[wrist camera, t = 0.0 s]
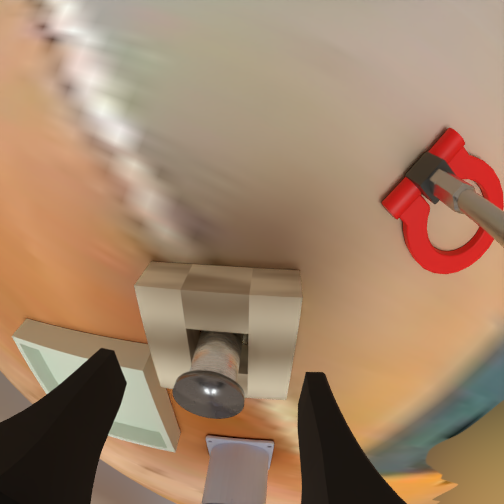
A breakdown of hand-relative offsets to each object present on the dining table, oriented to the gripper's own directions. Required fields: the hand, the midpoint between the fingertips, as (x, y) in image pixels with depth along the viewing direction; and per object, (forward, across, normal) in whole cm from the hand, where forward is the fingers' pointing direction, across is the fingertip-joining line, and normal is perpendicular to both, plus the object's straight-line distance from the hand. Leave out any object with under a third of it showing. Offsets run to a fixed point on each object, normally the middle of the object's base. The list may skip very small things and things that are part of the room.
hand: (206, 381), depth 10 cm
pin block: (+10, +1, +6) cm, 12 cm away
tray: (+10, +15, +17) cm, 25 cm away
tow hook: (+10, -14, -4) cm, 18 cm away
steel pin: (+10, +1, +6) cm, 12 cm away
